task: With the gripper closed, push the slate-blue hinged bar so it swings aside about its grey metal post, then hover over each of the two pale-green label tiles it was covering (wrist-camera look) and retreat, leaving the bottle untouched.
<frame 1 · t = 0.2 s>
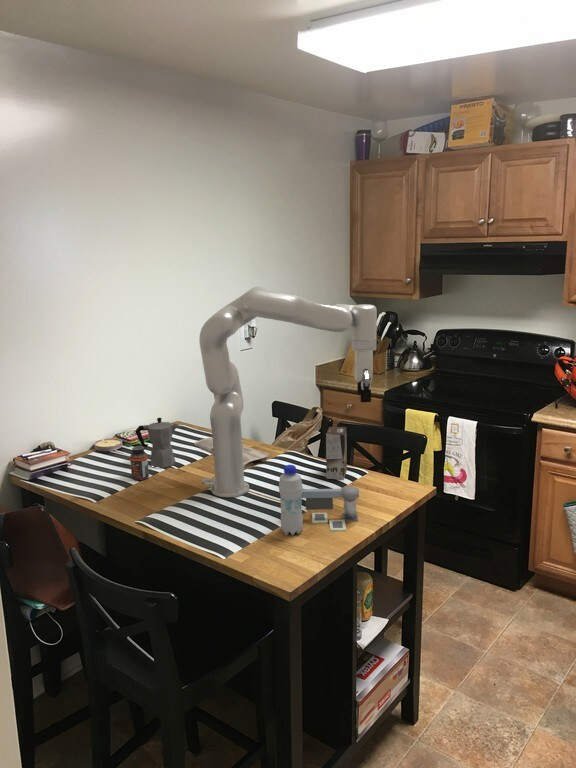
hand: (364, 397, 197), 31 cm above the table, fingers open, 9 cm apart
post: (350, 517, 184), on the table
newspaper: (232, 454, 241), on the table
supplement bottle: (140, 478, 219), on the table
label tile 2: (337, 526, 179), on the table
coffee box: (336, 474, 217), on the table
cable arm: (323, 499, 182), point 6 cm above the table, hinge at 0.0°
coffeepot: (160, 464, 231), on the table
bottle: (291, 532, 177), on the table
label tile 1: (319, 518, 184), on the table
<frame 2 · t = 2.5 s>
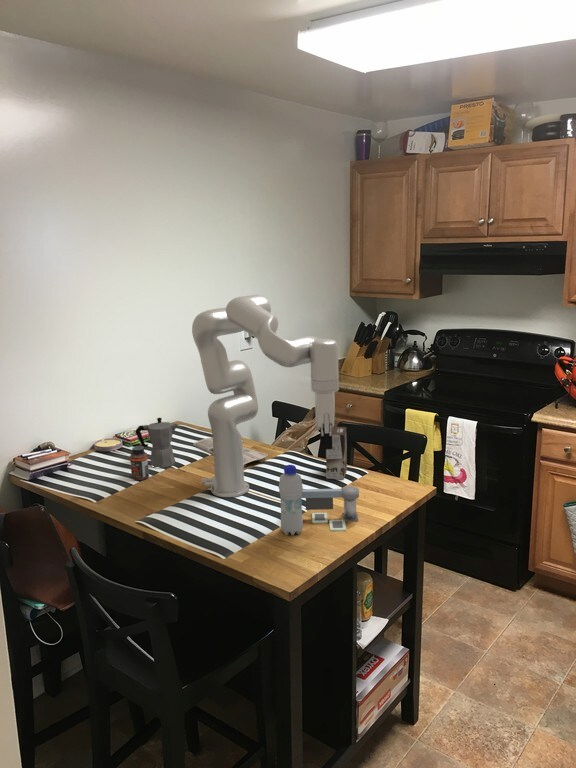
hand: (326, 448, 174), 24 cm above the table, fingers closed
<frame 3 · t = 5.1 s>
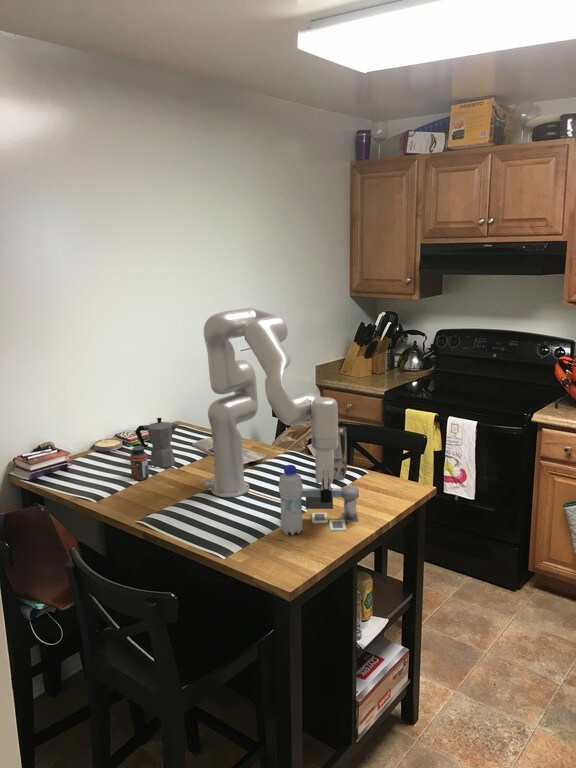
hand: (326, 501, 180), 7 cm above the table, fingers closed
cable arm: (323, 499, 183), point 6 cm above the table, hinge at 2.8°, touching gripper
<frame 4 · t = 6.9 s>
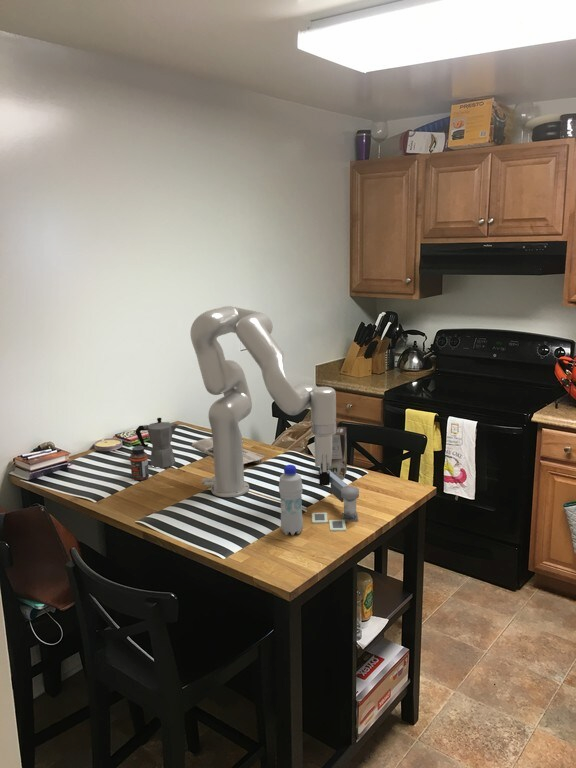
hand: (324, 484, 192), 7 cm above the table, fingers closed
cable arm: (338, 489, 189), point 6 cm above the table, hinge at 67.9°
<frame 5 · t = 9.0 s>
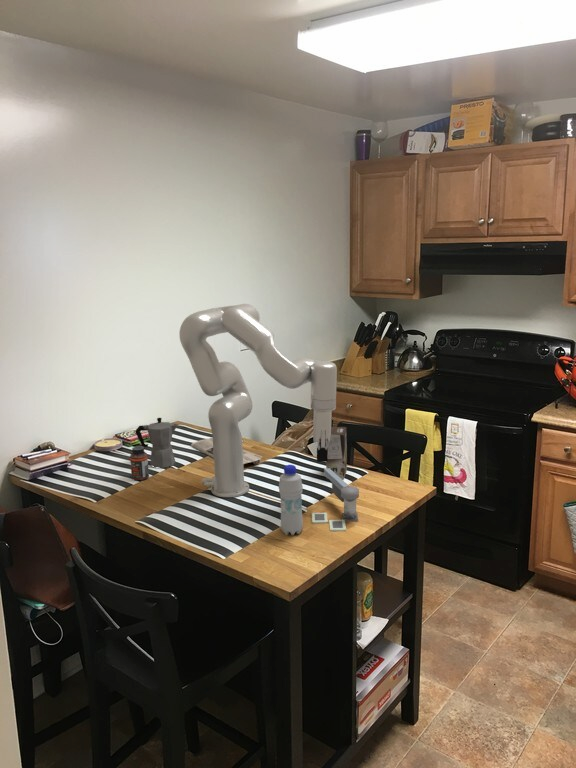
hand: (322, 460, 189), 15 cm above the table, fingers closed
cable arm: (339, 489, 189), point 6 cm above the table, hinge at 70.1°
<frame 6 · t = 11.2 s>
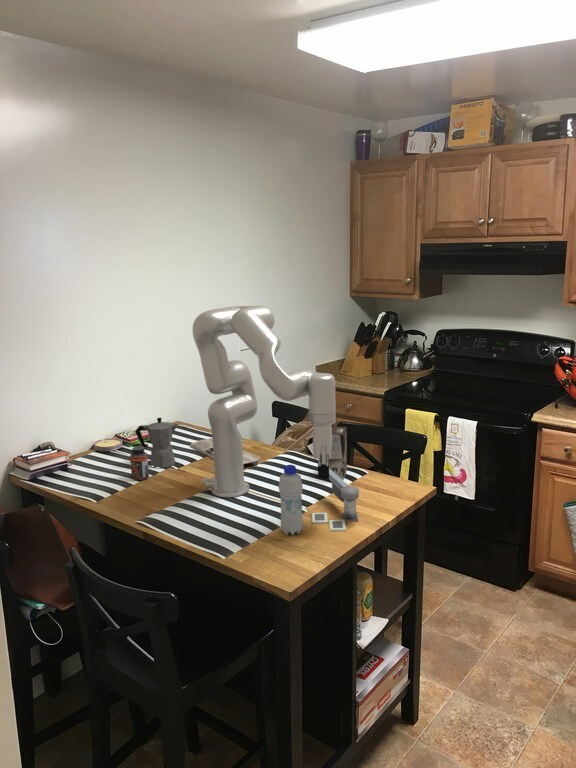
hand: (323, 477, 180), 13 cm above the table, fingers closed
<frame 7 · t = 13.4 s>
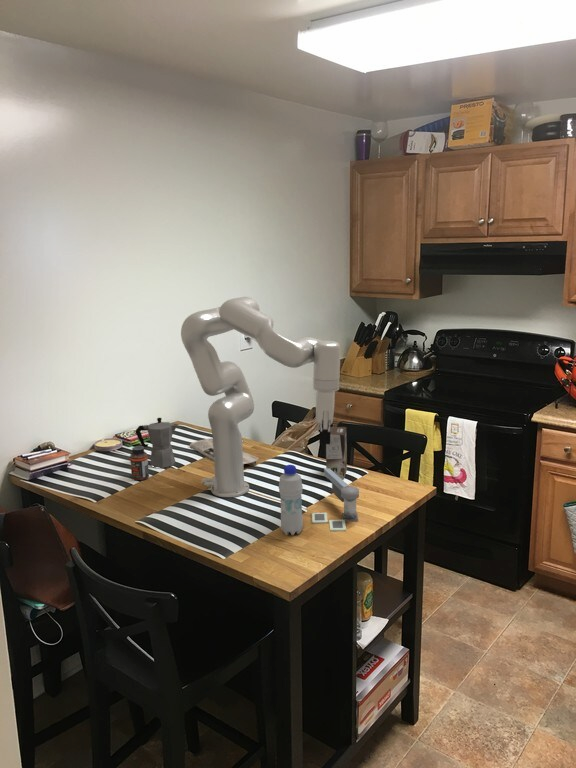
hand: (324, 443, 185), 21 cm above the table, fingers closed
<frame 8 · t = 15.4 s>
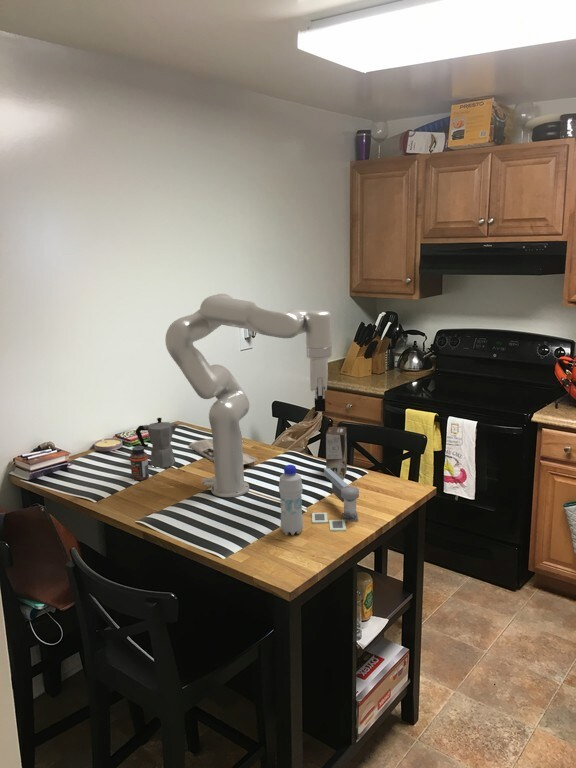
hand: (320, 410, 191), 29 cm above the table, fingers closed
at the end: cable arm at +70° (first picture: +0°); bottle moved 0.2 cm from its start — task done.
